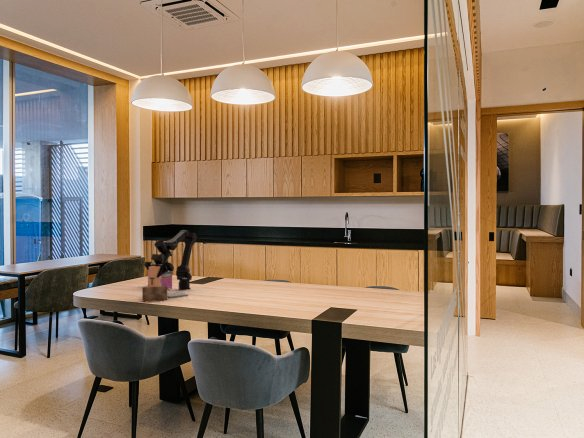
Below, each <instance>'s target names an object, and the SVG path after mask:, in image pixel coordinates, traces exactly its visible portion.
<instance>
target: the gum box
mask: <svg viewBox="0 0 584 438" xmlns="http://www.w3.org/2000/svg"><path fill="white" fill-rule="evenodd" d="M148 285H149V270H147V286H148ZM161 286H167V290H169V289H168V288H172V289H173V271H169V270H168V272H166V273H164V274H163V275H161Z"/></svg>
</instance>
